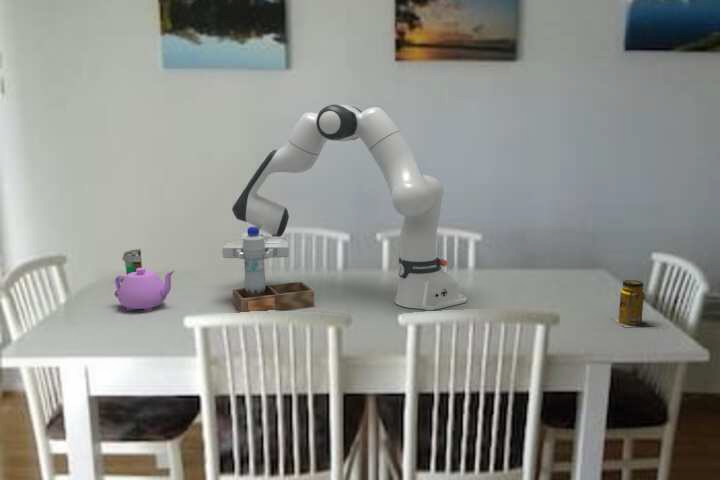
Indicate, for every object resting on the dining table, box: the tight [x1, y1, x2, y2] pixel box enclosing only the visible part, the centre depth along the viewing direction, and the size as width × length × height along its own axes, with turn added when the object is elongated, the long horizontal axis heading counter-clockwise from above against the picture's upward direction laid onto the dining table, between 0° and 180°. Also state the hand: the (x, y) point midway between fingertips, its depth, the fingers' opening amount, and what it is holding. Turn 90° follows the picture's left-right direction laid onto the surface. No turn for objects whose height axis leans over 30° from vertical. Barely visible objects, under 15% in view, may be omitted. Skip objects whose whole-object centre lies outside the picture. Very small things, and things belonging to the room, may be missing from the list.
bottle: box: [242, 226, 267, 294], centre depth 197 cm, size 7×7×20 cm
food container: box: [121, 248, 143, 275], centre depth 231 cm, size 12×6×10 cm, turn 17°
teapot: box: [114, 267, 176, 312], centre depth 200 cm, size 20×14×12 cm
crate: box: [232, 281, 315, 313], centre depth 201 cm, size 22×12×5 cm, turn 113°
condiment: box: [613, 279, 655, 328], centre depth 183 cm, size 7×8×12 cm
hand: (253, 256), depth 196 cm, fingers closed on bottle, 6 cm apart
